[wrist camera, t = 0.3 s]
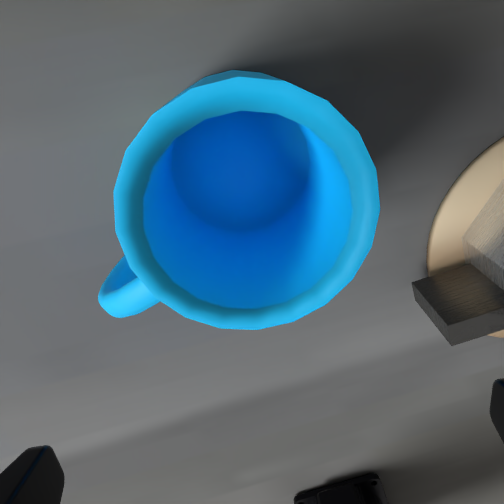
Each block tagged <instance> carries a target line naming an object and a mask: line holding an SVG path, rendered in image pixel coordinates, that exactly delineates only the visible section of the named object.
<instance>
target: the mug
mask: <svg viewBox="0 0 504 504" xmlns="http://www.w3.org/2000/svg"><path fill="white" fill-rule="evenodd" d="M113 192H114V211H115V231H116V234H117V237H118V239H119V242H120V244H121V247H122V249H123V252H124V254H125V255H124V256H123V257H122V259H121V260H120V261H119V262H118V264H117V265H116V266H115V267H114V268H113V270H112V271H111V272H110V274H109V275H108V277H107V278H106V280H105V281H104V283H103V284H102V287H101V289H100V292H99V296H98V300H99V303H100V305H101V306H102V307H103V308H104V309H105V310H106V311H107V312H108V313H109V314H110V315H112V316H114V317H117V318H123V317H127V316H131V315H136V314H139V313H141V312H142V311H144V310H146V309H148V308H150V307H152V306H153V305H155V304H157V303H159V302H160V301H161V302H163V303H164V304H166V305H167V306H169V307H170V308H172V309H173V310H175V311H176V312H178V313H180V314H181V315H183V316H184V317H186V318H189V319H192V320H195V321H198V322H202V323H205V324H208V325H211V326H214V327H218V328H222V329H248V330H259V329H263V328H268V327H272V326H277V325H281V324H286V323H290V322H294V321H296V320H297V319H299V318H301V317H303V316H305V315H307V314H309V313H311V312H313V311H315V310H316V309H318V308H320V307H322V306H324V305H326V304H327V303H328V302H329V301H330V300H331V299H332V298H333V297H334V296H335V295H336V294H338V293H339V292H340V291H341V290H342V289H343V288H344V287H345V286H346V285H347V284H348V283H349V282H350V281H351V280H352V279H353V278H354V276H355V274H356V273H357V271H358V269H359V268H360V266H361V264H362V262H363V261H364V259H365V257H366V256H367V254H368V252H369V251H370V249H371V247H372V243H373V239H374V235H375V230H376V226H377V221H378V217H379V213H380V201H379V191H378V181H377V171H376V168H375V166H374V164H373V161H372V159H371V157H370V155H369V153H368V151H367V149H366V147H365V144H364V142H363V140H362V138H361V136H360V134H359V132H358V131H357V130H356V129H355V128H354V127H353V126H352V125H351V124H350V123H349V122H348V121H347V120H346V119H345V118H344V117H343V116H342V115H341V114H340V113H339V112H338V111H337V110H336V109H335V108H334V107H333V106H332V105H331V104H330V103H329V102H328V101H327V100H325V99H323V98H321V97H319V96H316V95H314V94H312V93H310V92H308V91H306V90H304V89H301V88H299V87H297V86H295V85H293V84H291V83H289V82H286V81H284V80H281V79H278V78H275V77H273V76H270V75H267V74H264V73H261V72H250V71H240V70H230V71H226V72H222V73H218V74H214V75H210V76H206V77H204V78H202V79H201V80H199V81H198V82H196V83H195V84H193V85H192V86H190V87H189V88H187V89H186V90H184V91H183V92H181V93H180V94H179V95H177V96H176V97H175V98H173V99H172V100H171V101H169V102H168V103H167V104H165V105H164V106H163V107H162V108H160V109H159V110H158V111H156V112H155V113H154V114H152V116H151V117H150V118H149V120H148V121H147V122H146V124H145V125H144V126H143V128H142V129H141V130H140V132H139V133H138V135H137V136H136V137H135V139H134V140H133V141H132V143H131V144H130V145H129V147H128V148H127V149H126V151H125V154H124V158H123V161H122V164H121V168H120V171H119V174H118V178H117V181H116V185H115V188H114V191H113Z"/></svg>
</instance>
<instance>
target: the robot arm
mask: <svg viewBox="0 0 504 504" xmlns="http://www.w3.org/2000/svg"><path fill="white" fill-rule="evenodd" d="M490 415H491V419H492V422H493V424H494V426H495V427H496V429H497V431H498V433H499V435H500V437H501V439H502V441H503V443H504V378H502V379H497V380H495V382H494V383H493V388H492V396H491V403H490ZM63 488H64V473H63V470H62V468H61V466H60V463H59V461H58V459H57V457H56V455H55V453H54V451H53V449H52V448H51V447H50V446H47V445H44V446H38V447H31V448H28V449H27V450H25V451H24V452H23V453H22V454H21V455H20V456H19V457H18V458H17V459H16V460H14V461H13V462H12V463H11V464H10V465H9V466H8V467H7V468H6V469H5V470H4V471H3V472H2V473H1V474H0V504H60V502H61V497H62V492H63ZM294 504H388V501H387V499H386V496H385V493H384V490H383V487H382V484H381V481H380V478H379V476H378V475H377V474H369V475H365V476H362V477H358V478H355V479H352V480H348V481H345V482H341V483H338V484H334V485H331V486H328V487H324V488H321V489H317V490H314V491H310V492H307V493H304V494H300V495H297V496H295V497H294Z"/></svg>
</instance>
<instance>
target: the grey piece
mask: <svg viewBox="0 0 504 504" xmlns="http://www.w3.org/2000/svg"><path fill="white" fill-rule="evenodd" d="M461 238H462V244H463V251H464V258H465V265H463V266H460V267H457V268H454V269H451V270H448V271H445V272H442V273H439V274H436V275H433V276H430V277H427V278H424V279H421V280H418V281H415V282H412V287H413V291H414V296H415V300H416V302H417V303H418V304H419V305H420V307H421V308H422V309H423V310H424V312H425V313H426V314H427V316H428V317H429V318H430V319H431V321H432V322H433V323H434V324H435V326H436V327H437V328H438V329H439V331H440V332H441V333H442V334H443V336H444V337H445V338H446V340H447V341H448V342H449V343H450V345H451V346H453V345H456V344H460V343H463V342H466V341H469V340H472V339H476V338H479V337H482V336H485V335H488V334H491V333H495V332H498V331H501V330H504V179H503V180H502V182H501V183H500V184H499V186H498V187H497V189H496V190H495V191H494V193H493V194H492V196H491V197H490V198H489V200H488V201H487V203H486V204H485V205H484V207H483V208H482V209H481V211H480V212H479V214H478V215H477V216H476V218H475V219H474V221H473V222H472V223H471V225H470V226H469V228H468V229H467V230H466V232H465V233H464V234H463V236H462V237H461Z"/></svg>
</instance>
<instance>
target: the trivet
mask: <svg viewBox="0 0 504 504" xmlns="http://www.w3.org/2000/svg"><path fill="white" fill-rule="evenodd" d="M503 179H504V137H503V138H501V139H500V140H498V141H497V142H495V143H494V144H493V145H491V146H490V147H488V148H487V149H486V150H485V151H484V152H483V153H481V154H480V155H479V156H478V157H477V158H476V159H475V160H473V161H472V163H471V164H470V165H469V166H468V167H467V168H466V169H465V170H464V171H463V172H462V173H461V174H460V176H459V177H458V178H457V180H456V181H455V182H454V184H453V185H452V186H451V188H450V189H449V191H448V192H447V194H446V196H445V197H444V199H443V201H442V202H441V204H440V207H439V209H438V211H437V213H436V215H435V218H434V220H433V224H432V227H431V230H430V233H429V239H428V245H427V261H426V262H427V270H428V276H429V277H430V276H433V275H436V274H439V273H442V272H445V271H448V270H451V269H454V268H457V267H460V266H463V265H465V258H464V251H463V244H462V238H461V237H462V236H463V234H464V233H465V232H466V230H467V229H468V228H469V226H470V225H471V223H472V222H473V221H474V219H475V218H476V216H477V215H478V214H479V212H480V211H481V209H482V208H483V207H484V205H485V204H486V203H487V201H488V200H489V198H490V197H491V196H492V194H493V193H494V191H495V190H496V189H497V187H498V186H499V184H500V183H501V182H502V180H503ZM488 335H489V336H495V337H501V338H504V330H501V331H498V332H495V333H491V334H488Z"/></svg>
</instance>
